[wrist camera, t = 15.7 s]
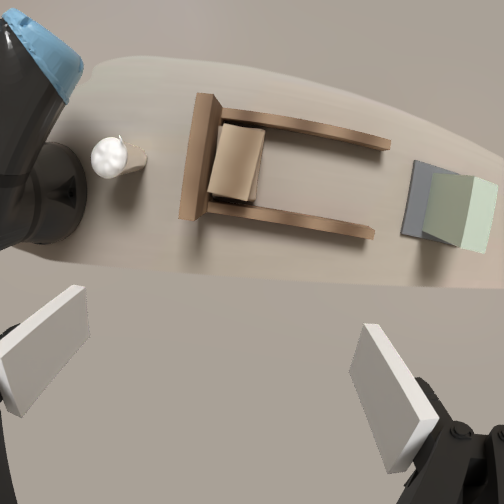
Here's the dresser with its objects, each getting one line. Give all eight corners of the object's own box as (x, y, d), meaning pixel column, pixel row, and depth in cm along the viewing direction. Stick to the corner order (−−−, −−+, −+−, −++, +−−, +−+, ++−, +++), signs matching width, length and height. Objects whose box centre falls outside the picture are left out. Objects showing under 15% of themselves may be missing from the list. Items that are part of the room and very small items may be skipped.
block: (421, 230, 39) (460, 248, 30) (432, 172, 37) (474, 176, 28) (444, 235, 39) (484, 253, 30) (455, 180, 37) (498, 185, 28)
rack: (198, 207, 41) (178, 218, 31) (213, 110, 38) (196, 92, 28) (366, 235, 41) (393, 254, 31) (382, 142, 37) (415, 135, 28)
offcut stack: (213, 194, 40) (205, 197, 34) (223, 126, 38) (216, 119, 32) (255, 200, 40) (254, 205, 34) (266, 132, 38) (266, 126, 32)
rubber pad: (400, 232, 40) (402, 233, 40) (413, 160, 38) (415, 160, 37) (456, 245, 40) (458, 246, 40) (469, 178, 38) (472, 178, 37)
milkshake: (163, 155, 39) (133, 151, 29) (134, 183, 40) (98, 188, 30) (142, 130, 38) (108, 121, 29) (114, 158, 39) (75, 157, 30)
